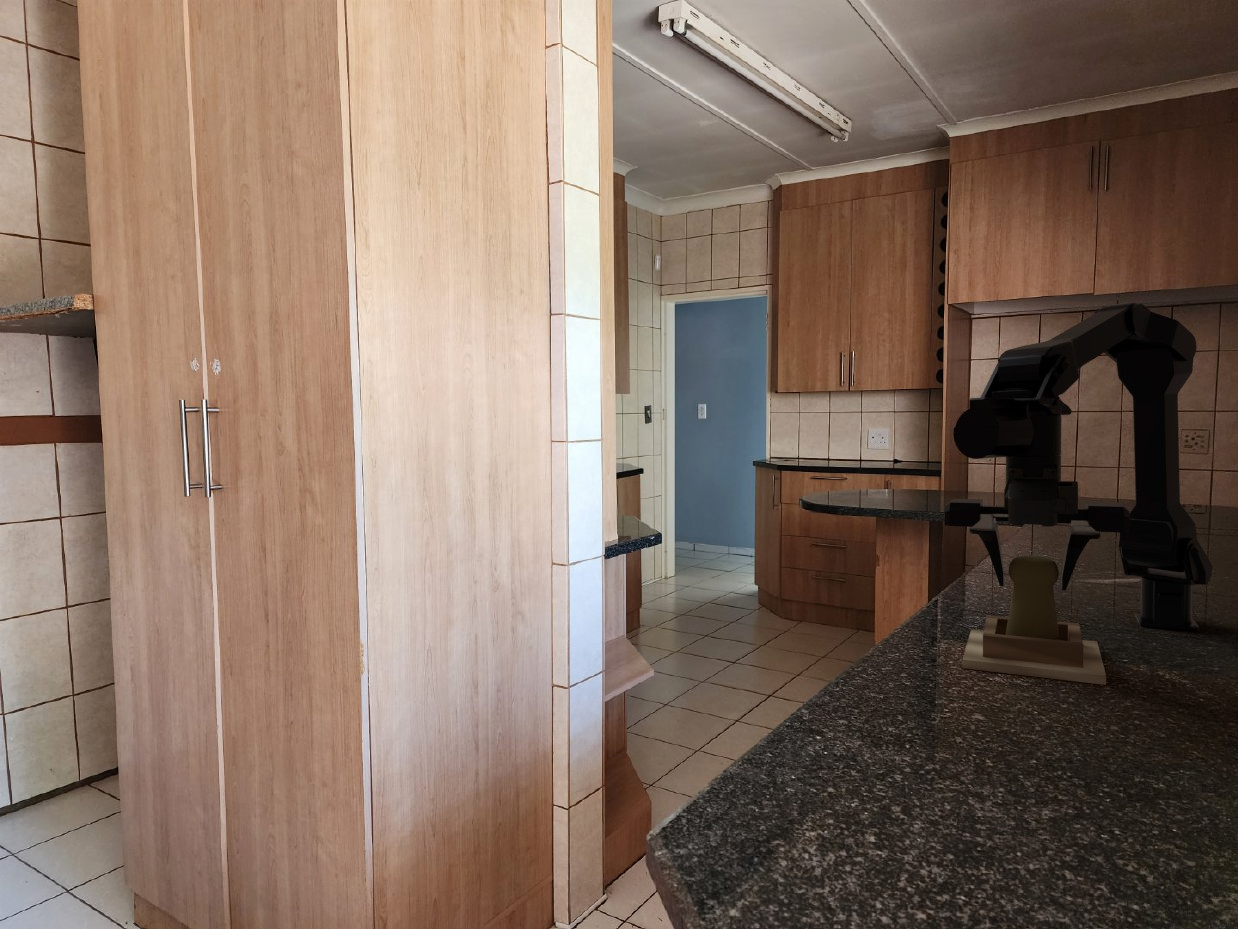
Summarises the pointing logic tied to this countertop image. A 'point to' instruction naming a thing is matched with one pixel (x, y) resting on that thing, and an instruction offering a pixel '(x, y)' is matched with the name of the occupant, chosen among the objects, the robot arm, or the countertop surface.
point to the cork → (1033, 598)
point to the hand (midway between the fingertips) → (1032, 587)
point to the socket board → (1035, 653)
